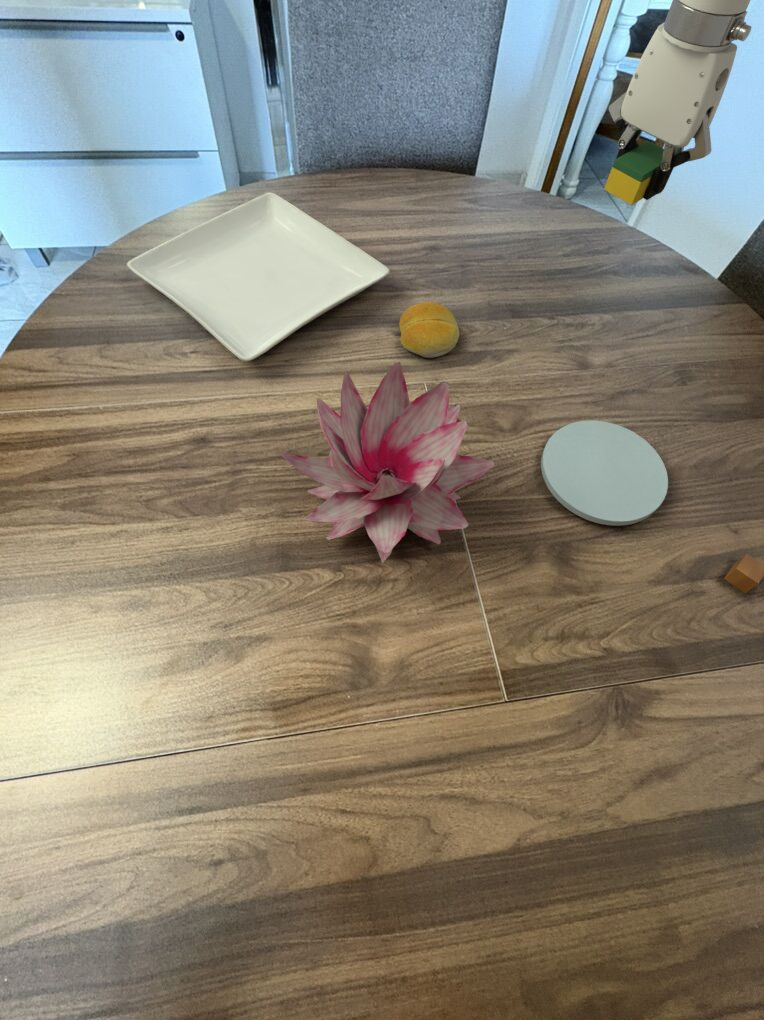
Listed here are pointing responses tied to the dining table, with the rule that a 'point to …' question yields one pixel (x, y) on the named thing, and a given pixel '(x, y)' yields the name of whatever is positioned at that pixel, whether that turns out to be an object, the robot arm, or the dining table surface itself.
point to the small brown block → (745, 573)
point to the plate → (604, 473)
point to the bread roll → (428, 330)
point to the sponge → (634, 172)
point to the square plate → (257, 273)
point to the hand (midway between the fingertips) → (635, 185)
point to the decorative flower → (391, 463)
